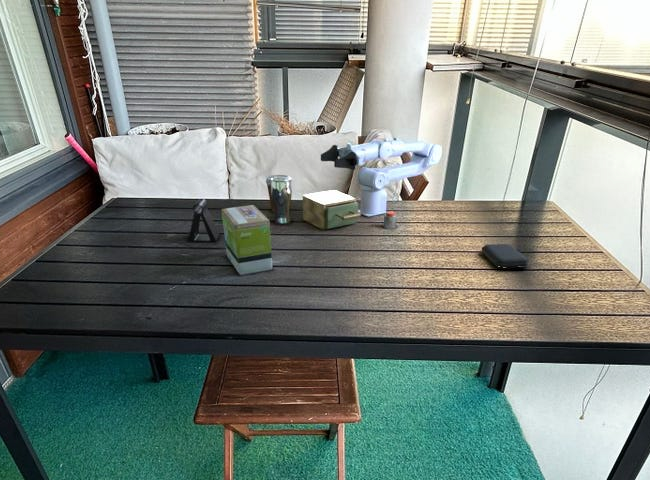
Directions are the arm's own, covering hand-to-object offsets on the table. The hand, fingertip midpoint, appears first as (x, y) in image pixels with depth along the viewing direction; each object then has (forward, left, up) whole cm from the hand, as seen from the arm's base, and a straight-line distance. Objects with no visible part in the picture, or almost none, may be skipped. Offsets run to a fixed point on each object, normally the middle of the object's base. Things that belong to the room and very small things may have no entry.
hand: (328, 160), depth 162 cm
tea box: (+40, +19, -21) cm, 49 cm away
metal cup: (+7, -22, -21) cm, 31 cm away
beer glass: (+13, -9, -21) cm, 26 cm away
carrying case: (-25, +58, -21) cm, 67 cm away
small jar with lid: (-16, +16, -21) cm, 30 cm away
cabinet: (-1, -1, -21) cm, 21 cm away
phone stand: (+43, -8, -21) cm, 49 cm away
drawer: (-1, +4, -20) cm, 20 cm away
